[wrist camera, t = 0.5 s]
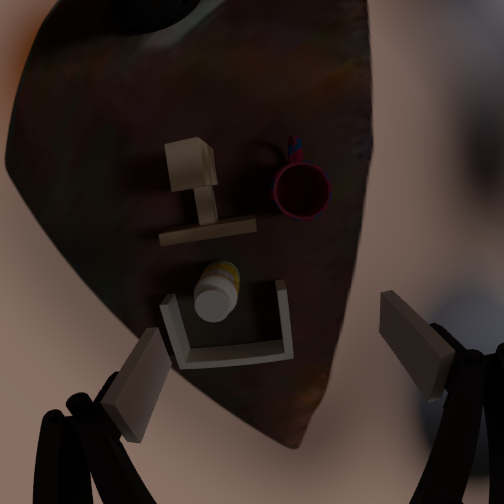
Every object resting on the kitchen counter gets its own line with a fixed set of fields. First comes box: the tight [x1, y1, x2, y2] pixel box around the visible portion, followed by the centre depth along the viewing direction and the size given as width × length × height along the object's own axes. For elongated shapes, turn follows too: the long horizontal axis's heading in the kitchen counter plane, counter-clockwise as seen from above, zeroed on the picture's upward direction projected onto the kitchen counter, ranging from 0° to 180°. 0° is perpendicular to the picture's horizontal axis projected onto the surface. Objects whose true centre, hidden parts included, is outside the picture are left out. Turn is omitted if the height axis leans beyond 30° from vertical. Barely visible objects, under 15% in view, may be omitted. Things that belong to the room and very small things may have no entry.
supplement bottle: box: [194, 260, 240, 322], centre depth 35 cm, size 5×5×10 cm
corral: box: [160, 279, 294, 369], centre depth 39 cm, size 11×17×4 cm, turn 98°
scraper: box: [159, 137, 257, 246], centre depth 32 cm, size 11×12×10 cm
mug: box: [269, 135, 332, 221], centre depth 33 cm, size 7×10×7 cm
